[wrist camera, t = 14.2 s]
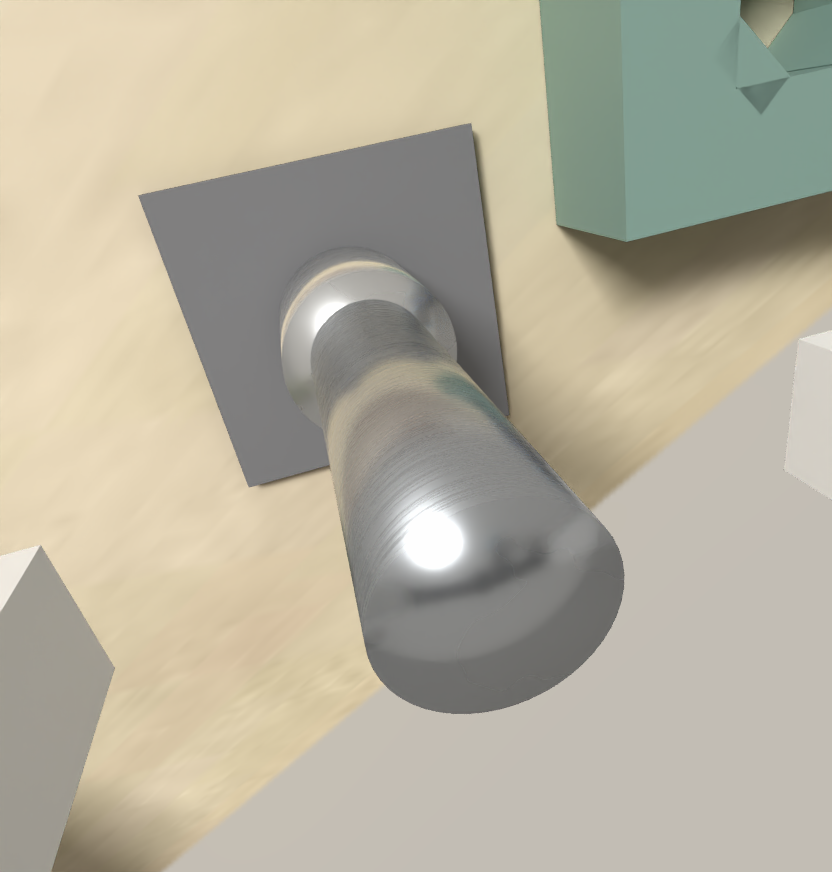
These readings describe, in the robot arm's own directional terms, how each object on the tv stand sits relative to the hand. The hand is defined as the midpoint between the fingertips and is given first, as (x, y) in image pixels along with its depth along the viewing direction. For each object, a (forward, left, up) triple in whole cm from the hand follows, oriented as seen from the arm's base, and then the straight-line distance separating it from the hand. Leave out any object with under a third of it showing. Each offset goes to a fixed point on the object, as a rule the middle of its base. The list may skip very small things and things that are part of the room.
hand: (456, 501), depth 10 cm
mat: (0, 0, -14) cm, 14 cm away
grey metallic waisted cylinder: (0, 0, -13) cm, 13 cm away
